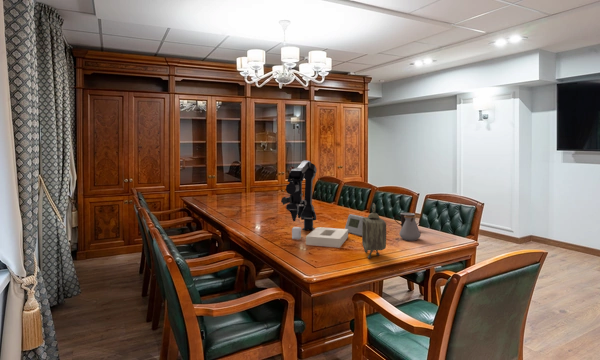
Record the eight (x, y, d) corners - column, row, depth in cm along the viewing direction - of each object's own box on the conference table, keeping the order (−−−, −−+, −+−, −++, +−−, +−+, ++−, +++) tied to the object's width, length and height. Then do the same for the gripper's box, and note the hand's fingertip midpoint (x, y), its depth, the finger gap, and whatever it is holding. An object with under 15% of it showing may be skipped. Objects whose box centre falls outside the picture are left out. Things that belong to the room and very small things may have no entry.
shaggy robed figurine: (361, 251, 185) (362, 200, 182) (380, 251, 184) (381, 201, 182) (366, 260, 170) (367, 205, 168) (386, 260, 170) (387, 205, 168)
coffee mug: (416, 229, 235) (416, 213, 234) (412, 231, 228) (412, 215, 227) (397, 227, 241) (398, 211, 240) (393, 229, 234) (393, 213, 233)
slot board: (317, 234, 219) (317, 227, 219) (348, 237, 214) (348, 229, 214) (305, 244, 197) (305, 236, 196) (339, 247, 191) (339, 238, 191)
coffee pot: (398, 236, 216) (399, 210, 215) (419, 237, 214) (420, 211, 213) (400, 245, 196) (400, 217, 194) (423, 247, 193) (424, 218, 192)
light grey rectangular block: (294, 237, 213) (294, 226, 213) (301, 237, 212) (301, 227, 211) (292, 238, 209) (292, 228, 209) (298, 239, 208) (298, 228, 208)
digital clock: (343, 231, 228) (343, 214, 228) (356, 230, 232) (356, 213, 231) (357, 237, 213) (357, 218, 213) (370, 236, 217) (371, 217, 216)
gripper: (288, 189, 220) (288, 215, 221) (277, 193, 202) (277, 222, 203) (306, 190, 216) (306, 217, 218) (296, 194, 199) (296, 223, 200)
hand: (296, 219), depth 210 cm, fingers open, 9 cm apart
